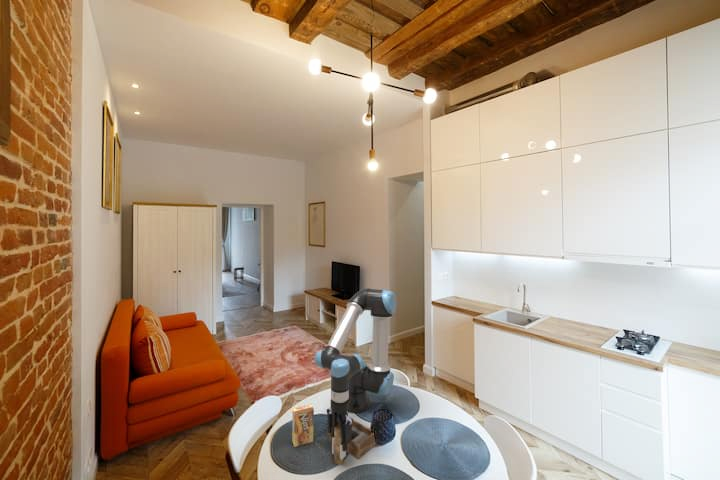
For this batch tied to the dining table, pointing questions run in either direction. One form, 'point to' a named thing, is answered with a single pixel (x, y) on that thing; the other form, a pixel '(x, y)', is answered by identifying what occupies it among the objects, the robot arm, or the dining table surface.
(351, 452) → the crate
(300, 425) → the candy box
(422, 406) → the dining table surface
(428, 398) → the dining table surface
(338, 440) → the peg
